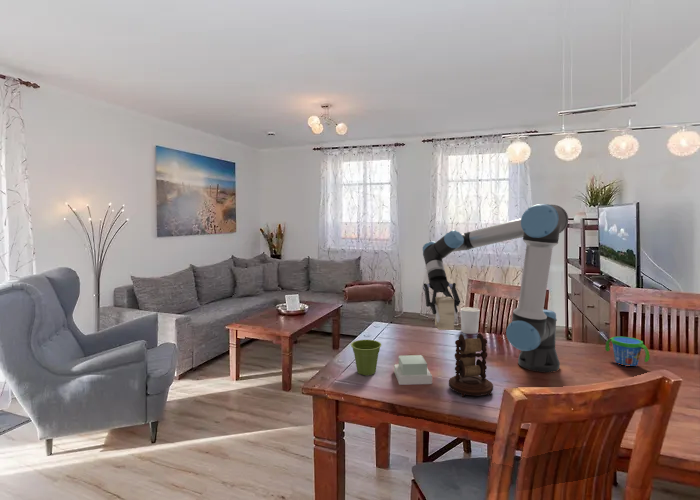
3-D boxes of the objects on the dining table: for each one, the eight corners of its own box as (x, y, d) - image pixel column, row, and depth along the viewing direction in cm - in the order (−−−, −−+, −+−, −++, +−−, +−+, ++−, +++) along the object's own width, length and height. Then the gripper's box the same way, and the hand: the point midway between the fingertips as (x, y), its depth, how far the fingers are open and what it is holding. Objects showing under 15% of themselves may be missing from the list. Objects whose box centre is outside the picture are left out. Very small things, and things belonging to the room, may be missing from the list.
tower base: (394, 371, 154) (394, 354, 154) (424, 371, 155) (424, 353, 154) (399, 384, 142) (399, 365, 142) (432, 383, 143) (432, 365, 142)
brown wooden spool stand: (481, 380, 146) (482, 327, 144) (501, 398, 131) (502, 339, 129) (442, 382, 144) (443, 329, 142) (458, 401, 129) (459, 341, 128)
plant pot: (345, 371, 155) (344, 343, 154) (368, 364, 163) (368, 337, 162) (364, 381, 146) (364, 351, 145) (387, 373, 153) (387, 344, 152)
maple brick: (435, 325, 161) (435, 296, 160) (449, 325, 161) (449, 296, 160) (438, 330, 155) (439, 299, 154) (454, 329, 155) (454, 299, 154)
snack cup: (598, 359, 165) (599, 336, 165) (616, 356, 169) (617, 333, 168) (636, 373, 151) (637, 347, 150) (655, 369, 154) (656, 344, 153)
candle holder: (469, 335, 201) (469, 312, 200) (455, 330, 210) (456, 308, 209) (483, 332, 206) (483, 310, 205) (469, 328, 214) (470, 306, 213)
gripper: (456, 278, 172) (468, 324, 157) (413, 278, 171) (421, 325, 156) (460, 267, 166) (473, 314, 151) (415, 268, 166) (424, 316, 151)
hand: (447, 320), depth 154 cm, fingers closed on maple brick, 6 cm apart
